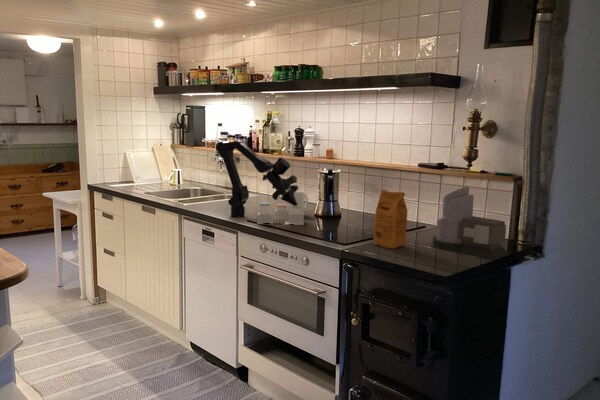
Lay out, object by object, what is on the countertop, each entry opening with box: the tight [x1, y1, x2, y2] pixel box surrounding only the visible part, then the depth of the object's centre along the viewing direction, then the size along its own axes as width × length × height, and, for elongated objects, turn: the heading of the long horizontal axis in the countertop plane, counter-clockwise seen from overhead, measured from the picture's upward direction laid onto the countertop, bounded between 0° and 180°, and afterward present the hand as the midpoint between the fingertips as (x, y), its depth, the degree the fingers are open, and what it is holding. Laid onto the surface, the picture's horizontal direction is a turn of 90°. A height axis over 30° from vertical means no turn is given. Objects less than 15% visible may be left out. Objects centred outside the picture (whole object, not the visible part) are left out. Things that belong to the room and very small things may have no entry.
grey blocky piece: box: [428, 186, 510, 261], centre depth 199 cm, size 30×16×24 cm, turn 40°
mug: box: [290, 191, 309, 213], centre depth 271 cm, size 10×7×12 cm, turn 127°
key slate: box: [259, 201, 271, 215], centre depth 247 cm, size 5×5×6 cm
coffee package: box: [373, 189, 409, 249], centre depth 204 cm, size 10×12×22 cm
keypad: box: [256, 208, 305, 226], centre depth 253 cm, size 22×18×4 cm
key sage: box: [292, 205, 301, 214], centre depth 250 cm, size 5×5×6 cm
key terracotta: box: [276, 203, 288, 211], centre depth 258 cm, size 5×5×6 cm
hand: (296, 205), depth 249 cm, fingers closed, pressing on key sage
